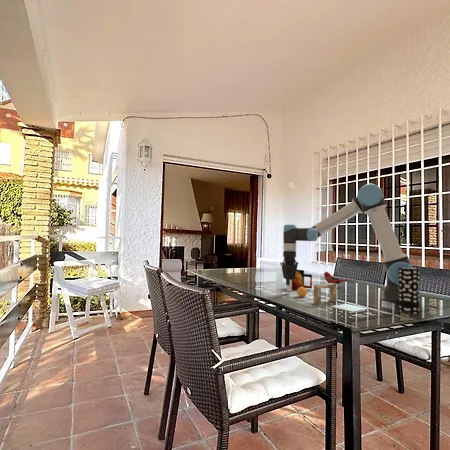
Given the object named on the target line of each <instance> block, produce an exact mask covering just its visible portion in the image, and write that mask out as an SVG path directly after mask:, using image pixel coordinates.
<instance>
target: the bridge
mask: <svg viewBox="0 0 450 450" xmlns="http://www.w3.org/2000/svg"><path fill="white" fill-rule="evenodd" d="M337 287H338V284H334V283H328V282H327V283H322V284H321V283H319V284H313V304H315V305H321V303H322V288H323V289H324V288H329V291H328V292H329V293H328V295H329V300H328V301H330V302H335V303H336V302H337V301H338V299H337V293H338V291H337Z"/></svg>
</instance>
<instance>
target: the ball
mask: <svg viewBox="0 0 450 450" xmlns="http://www.w3.org/2000/svg"><path fill="white" fill-rule="evenodd" d="M296 293H297V295H298V296H299V297H301V298H304V297H305V296H307V295H308V291H307V288H304V287H299V288H298V289H297V290H296Z"/></svg>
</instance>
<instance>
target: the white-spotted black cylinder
mask: <svg viewBox="0 0 450 450" xmlns="http://www.w3.org/2000/svg"><path fill="white" fill-rule="evenodd" d="M397 304H398V308H397V309H398V311H399V312H401V313H404V314H414V315H416V314H420V268H418V267H417V268H416V267H413V268H408V267H399V268H398V302H397Z"/></svg>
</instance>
